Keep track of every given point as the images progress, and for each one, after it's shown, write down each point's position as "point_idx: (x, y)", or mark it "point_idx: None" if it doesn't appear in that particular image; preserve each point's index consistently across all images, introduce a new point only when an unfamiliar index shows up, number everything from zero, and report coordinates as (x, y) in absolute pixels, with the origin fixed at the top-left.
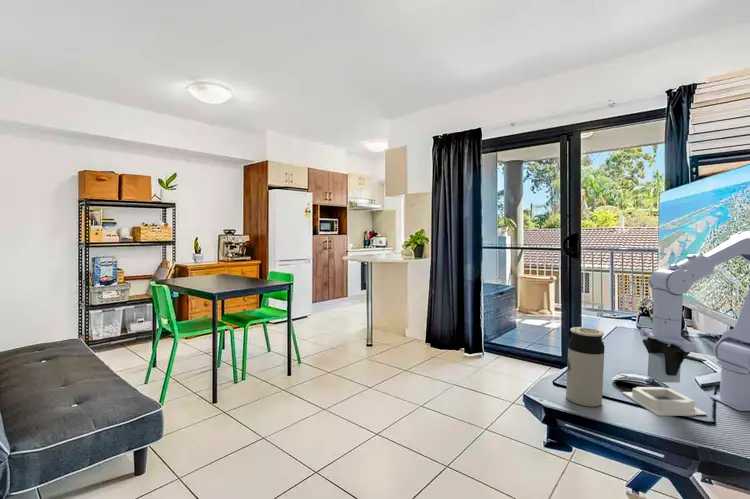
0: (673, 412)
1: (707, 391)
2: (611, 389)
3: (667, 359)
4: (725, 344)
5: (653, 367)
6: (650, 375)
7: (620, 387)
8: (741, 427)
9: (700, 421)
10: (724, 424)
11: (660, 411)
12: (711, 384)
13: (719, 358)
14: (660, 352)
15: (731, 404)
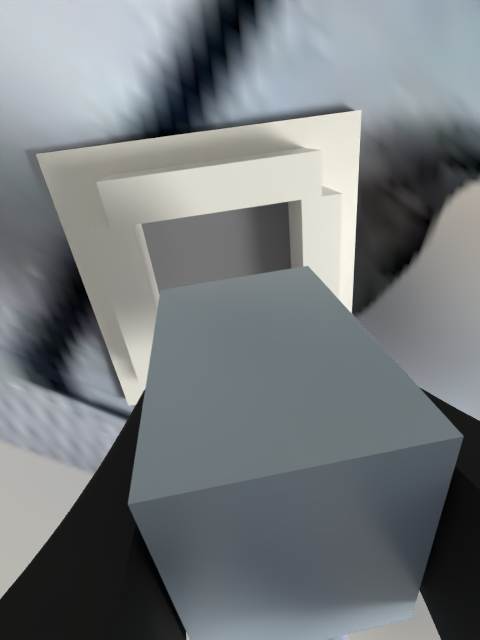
0: (92, 266)
1: None
2: (429, 70)
3: (68, 560)
4: None
5: (267, 331)
6: (278, 278)
7: (446, 164)
8: (51, 454)
9: (51, 345)
10: (57, 417)
11: (82, 195)
12: None
13: None
14: (438, 576)
15: None
